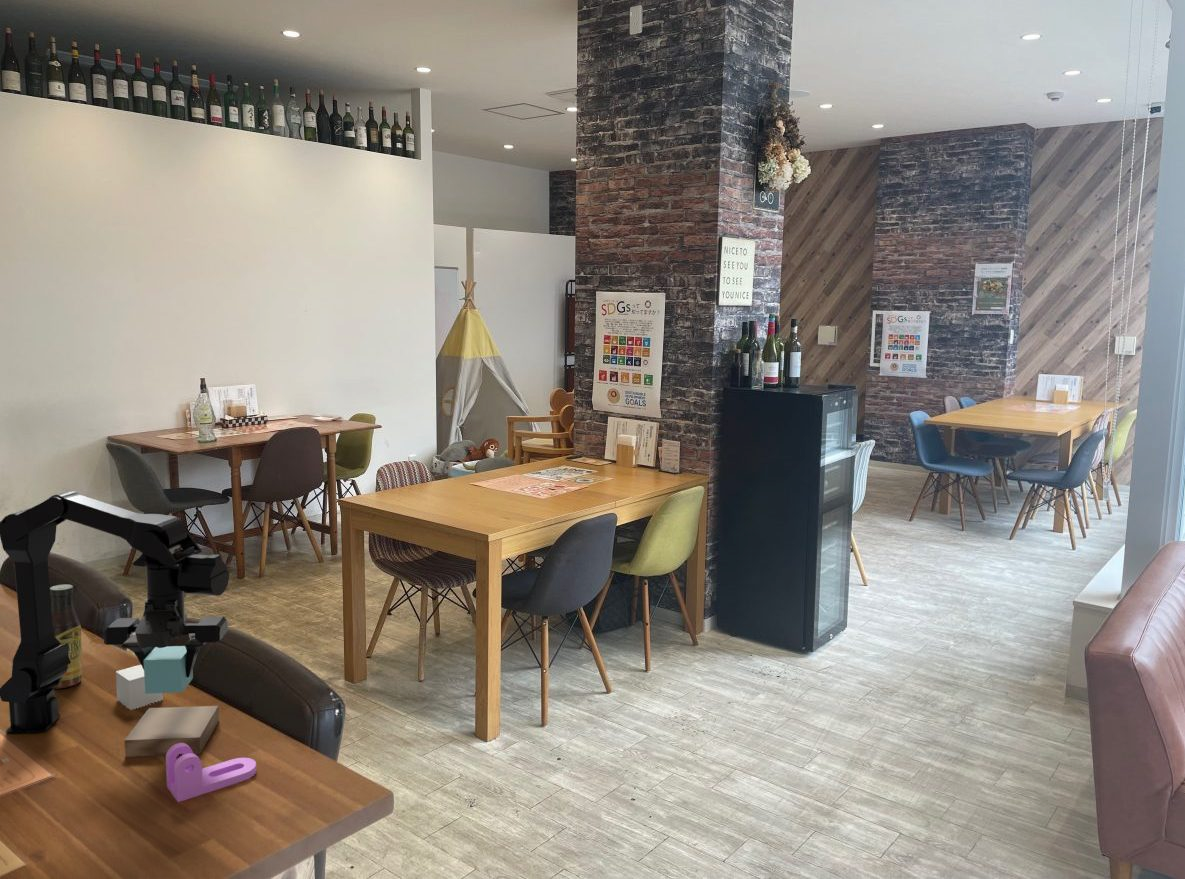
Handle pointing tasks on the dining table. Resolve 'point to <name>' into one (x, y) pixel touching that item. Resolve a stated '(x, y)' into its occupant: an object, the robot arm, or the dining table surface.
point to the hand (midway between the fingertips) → (169, 677)
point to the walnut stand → (171, 730)
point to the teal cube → (166, 670)
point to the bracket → (202, 773)
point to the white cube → (134, 688)
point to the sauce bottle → (67, 632)
